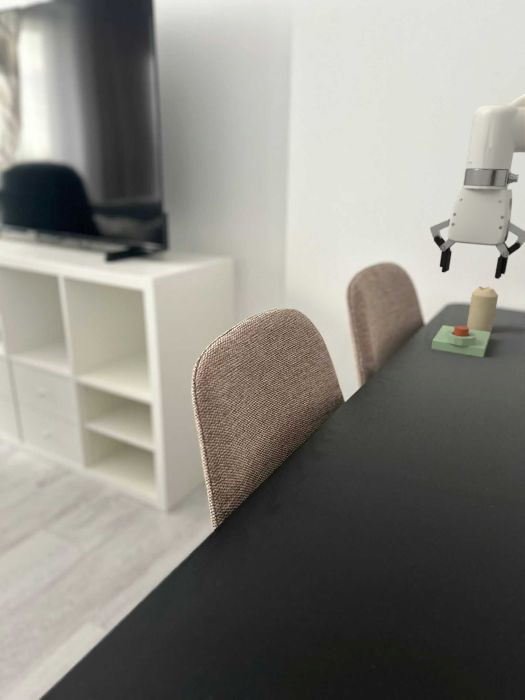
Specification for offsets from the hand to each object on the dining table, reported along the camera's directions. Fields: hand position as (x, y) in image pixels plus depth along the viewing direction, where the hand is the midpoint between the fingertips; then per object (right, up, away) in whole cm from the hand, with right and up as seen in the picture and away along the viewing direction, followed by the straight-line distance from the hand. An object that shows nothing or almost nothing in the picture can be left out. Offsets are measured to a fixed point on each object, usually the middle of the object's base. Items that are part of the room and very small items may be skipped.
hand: (470, 274), depth 98 cm
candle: (+11, -10, +21) cm, 26 cm away
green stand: (+2, -13, +11) cm, 17 cm away
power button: (0, -12, +6) cm, 13 cm away
